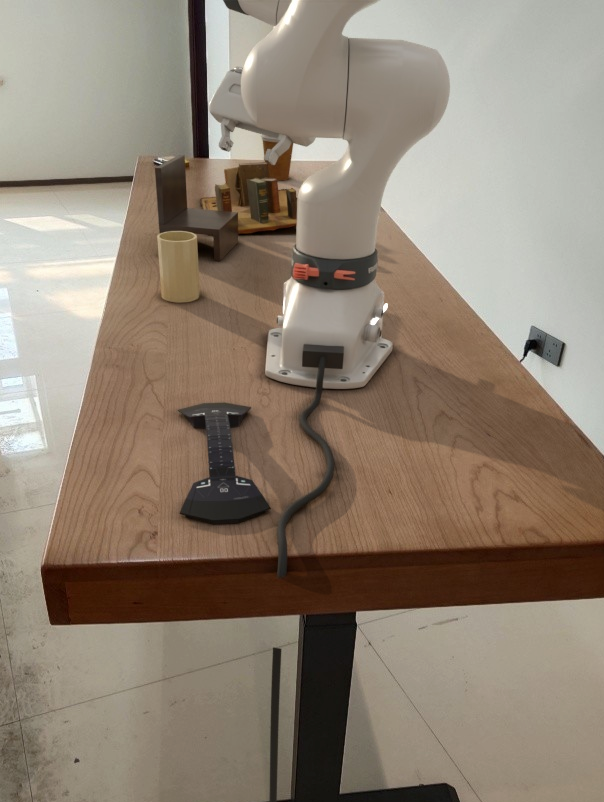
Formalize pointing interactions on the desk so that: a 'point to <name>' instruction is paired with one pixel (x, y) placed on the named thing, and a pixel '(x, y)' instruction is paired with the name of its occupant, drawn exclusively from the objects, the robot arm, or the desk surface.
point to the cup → (178, 266)
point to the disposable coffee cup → (283, 161)
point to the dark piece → (221, 470)
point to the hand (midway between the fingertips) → (245, 155)
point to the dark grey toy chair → (191, 210)
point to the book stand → (254, 199)
